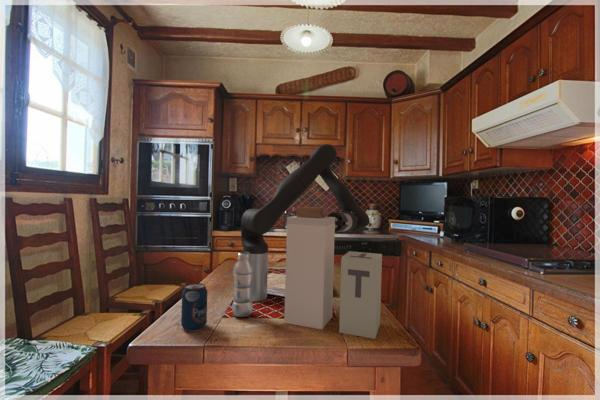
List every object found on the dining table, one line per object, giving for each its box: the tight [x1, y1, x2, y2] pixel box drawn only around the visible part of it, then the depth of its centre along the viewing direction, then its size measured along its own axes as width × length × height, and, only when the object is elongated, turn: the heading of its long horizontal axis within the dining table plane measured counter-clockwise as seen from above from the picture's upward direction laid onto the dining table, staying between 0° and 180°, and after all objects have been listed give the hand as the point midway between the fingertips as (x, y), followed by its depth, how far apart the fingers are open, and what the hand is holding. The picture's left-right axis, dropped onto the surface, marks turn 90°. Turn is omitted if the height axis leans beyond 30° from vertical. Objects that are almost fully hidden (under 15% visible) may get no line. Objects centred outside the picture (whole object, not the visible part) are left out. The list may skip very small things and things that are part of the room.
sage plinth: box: [338, 250, 383, 340], centre depth 95 cm, size 11×10×22 cm
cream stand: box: [283, 215, 336, 330], centre depth 101 cm, size 11×12×32 cm
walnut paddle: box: [296, 206, 330, 218], centre depth 105 cm, size 18×7×3 cm, turn 159°
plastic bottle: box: [231, 251, 254, 318], centre depth 103 cm, size 6×7×20 cm
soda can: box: [180, 282, 208, 333], centre depth 93 cm, size 7×7×12 cm
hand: (317, 222), depth 113 cm, fingers open, 8 cm apart
